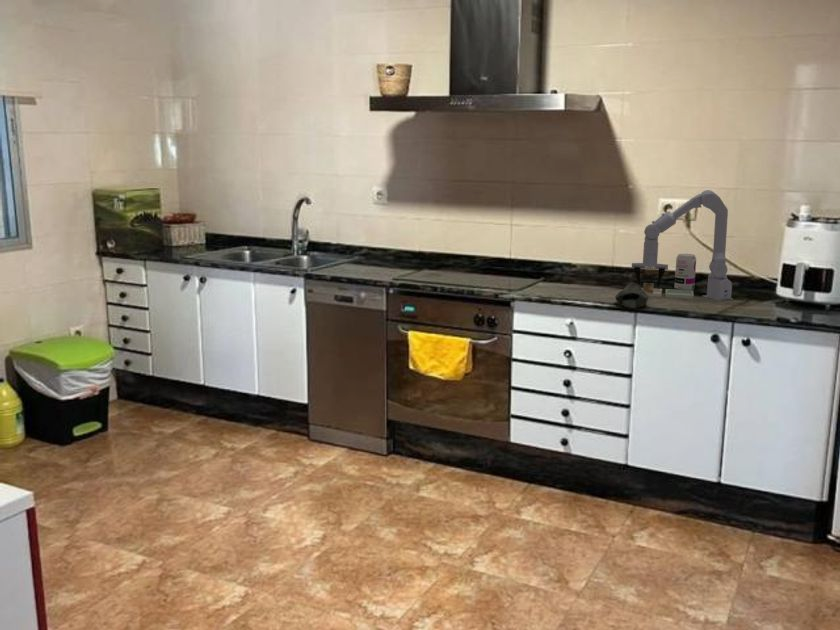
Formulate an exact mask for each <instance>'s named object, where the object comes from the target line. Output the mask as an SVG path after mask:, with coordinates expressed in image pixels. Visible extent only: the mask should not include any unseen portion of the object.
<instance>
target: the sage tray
mask: <svg viewBox="0 0 840 630" xmlns="http://www.w3.org/2000/svg"><path fill="white" fill-rule="evenodd" d="M694 296H695V295H694V290H681V289H669V288H668V289H667V288H666V289H665V298H673V299H674V298H676V299H689V300H691V299H692V300H693V299H694Z"/></svg>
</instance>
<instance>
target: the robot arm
mask: <svg viewBox="0 0 840 630" xmlns="http://www.w3.org/2000/svg"><path fill="white" fill-rule="evenodd" d="M702 206H703V207H704V208H706V209H709V210H710V211H711V212H712V213H713V214H714V231H713V232H714V233H713V245H712V246H713V248H712V249H713V251H712V257H711V261H710V263H709V266H708V268H709V271H710V273H708V276H707V286H706V287H707V289H706V294H705V295H703V297H704V298H707V299H711V300H716V301H723V300H724V301H725V300H731V301H732V300H733V298H732V291H733V283H732V281H731V280H730V279H728V275H727V273H728V266H727V263H726V251H727V250H726V249H727V248H726V247H727V231H728V215H729V210H728V207H727V206H726V204H725V203H724V201H723V200H722V199H721V196H719V195H718V194H716V192H715V191H712V190H708V189H707V190H704V191H702V192H701V193H698V194H696V195H694V196H693V197H691V198H690V199H689V200H687V201H686V202H685V203H683V204H682V205H680V207H678V208H676V209H675V210H674V211H672V212H666V213H665V212H663V213H661V216H660V217H658V218H657V219H655V220H652V221H651V223H650V224H648V225H646V226H645V228H644V235H645V236H644V242H643V250H642V251H643V253H642V254H643V256H642V262H632V263H631V269H633V271H634V273H635V277H636V280H637V281H636V282H637V284H638V285H639V286H640V287H641V269H647V270H648V269H649V270H651V269H652V270H653V269H654V270H658V277H657V278H658V279H657V284H656V286H657V287H658V288H659V287H660V283H661V280H662V278H663V276H664V274H665V272H666V271H668V270H669V264H666V263H664V264H663V263H658V255H659V237H660V234H662V233H664V232H666V231H667V230H669V229H670V228H672V227H673V226H674V225H676V224H677V220H678V219H679V218H680V217H682V216H683V215H685V214H687V213H688V212H690V211H691V210H693V209H699V208H702Z"/></svg>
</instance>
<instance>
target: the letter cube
mask: <svg viewBox="0 0 840 630" xmlns="http://www.w3.org/2000/svg"><path fill="white" fill-rule="evenodd" d="M654 285H655V284H654V282H653V283H651V282H649V283H648V282H643V287H642V288H643V291H644V292H645V293H653V288H654ZM654 289H655V288H654Z"/></svg>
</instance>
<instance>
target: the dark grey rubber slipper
mask: <svg viewBox="0 0 840 630" xmlns="http://www.w3.org/2000/svg"><path fill="white" fill-rule="evenodd" d="M642 288H643V287H641V285H640V286H639V285H638V283H637V282H629V283H628V284H627V285H625V287H624V288H623V289H621V290H620V291H619V292H617V294H616V295H615V296H614V297H615V301H617V303H618V304H619V305H620V306H622V307H625V308H627V309H639V308H640V307H643V306H645V305H646V304H647V303H648V300H649V297H650V296H648V295H647V294H646V293H645V292H644V291H643V290H642Z"/></svg>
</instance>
